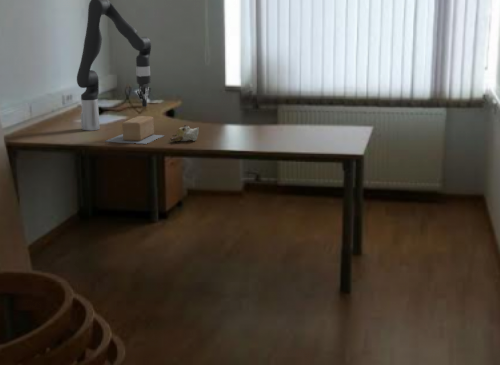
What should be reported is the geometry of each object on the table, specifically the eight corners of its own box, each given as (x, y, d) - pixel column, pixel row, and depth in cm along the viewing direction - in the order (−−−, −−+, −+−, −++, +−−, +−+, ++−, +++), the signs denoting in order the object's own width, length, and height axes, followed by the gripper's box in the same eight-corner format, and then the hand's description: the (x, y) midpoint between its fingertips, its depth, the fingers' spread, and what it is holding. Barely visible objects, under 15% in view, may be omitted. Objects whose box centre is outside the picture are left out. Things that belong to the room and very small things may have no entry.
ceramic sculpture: (197, 126, 404) (168, 128, 405) (198, 142, 406) (170, 144, 407) (199, 122, 415) (171, 124, 416) (200, 138, 417) (173, 140, 418)
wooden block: (154, 134, 428) (140, 141, 409) (137, 133, 430) (122, 140, 412) (153, 116, 425) (139, 122, 407) (136, 115, 428) (121, 122, 409)
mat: (104, 141, 412) (104, 140, 412) (124, 133, 432) (124, 133, 432) (146, 144, 405) (145, 143, 405) (164, 136, 425) (164, 135, 425)
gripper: (142, 72, 429) (144, 104, 434) (131, 75, 417) (132, 108, 422) (155, 73, 427) (156, 104, 431) (144, 76, 415) (145, 108, 419)
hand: (144, 106), depth 427 cm, fingers closed
